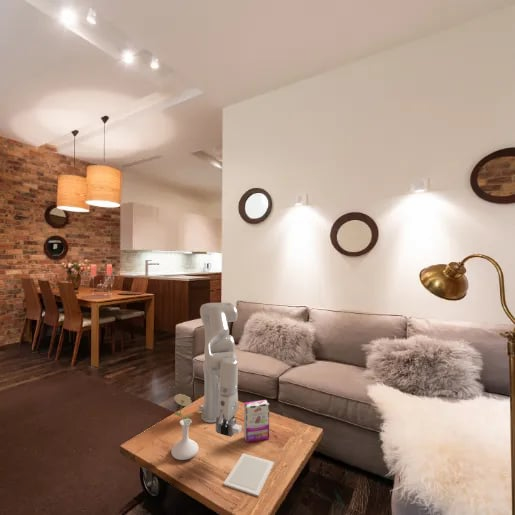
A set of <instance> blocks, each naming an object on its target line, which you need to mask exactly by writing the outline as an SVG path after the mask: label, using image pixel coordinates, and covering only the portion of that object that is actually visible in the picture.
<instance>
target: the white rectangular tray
mask: <svg viewBox="0 0 515 515" xmlns="http://www.w3.org/2000/svg"><path fill="white" fill-rule="evenodd" d="M274 465H275V461H271V460H269V459H265V458H261V457H258V456H255V455H251V454H247V453H242V454H241V456H240V457H239V458H238V460H237V462H236V464H235V465H234V467H232V469H231V471H230V472H229V474H228V475H227V477H225V480H224V481H223V483H222V484H223V486H226V487H228V488H232V489H234V490H238V491H240V492H243V493H245V494H249V495H252V496H255V497H259V496H260V494H261V492H262V491H263V488H264V485H265V483H266V482H267V479H268V477H269V475H270V473H271V471H272V469H273V467H274Z"/></svg>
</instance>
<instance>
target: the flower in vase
mask: <svg viewBox="0 0 515 515" xmlns="http://www.w3.org/2000/svg"><path fill="white" fill-rule="evenodd" d="M173 400H174V401H175V402H176V404H178V405H180V409H179V410H180V411H179V412H178V411H175V412H174V413H173V415H175V416H177V417H181V418H182V419H181V420H180V421H179V424H180V426H181V428H182V438H181V439H180V440H178V442H176V443H175V444H174V445H173V447H172V449H171V455H172V457H173V458H174V459H176V460H180V461H184V460H185V461H186V460H190V459H192V458H194V457H195V456H196V455H197V453H198V452H199V450H200V448H199V444H198V443H197V442H196V441H195V440H193V439H191V438H189V428H190V425H191V424H192V419H190V417H191V416H192V413H188V414H186V415H185V416H184V417H183V415H182V406H183V407H189V406H191V405H192V403H193V402H192V400H191V397H189V396H188V395H186V394H182V393H178V394H175V395H174V397H173Z"/></svg>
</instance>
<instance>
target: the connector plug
mask: <svg viewBox="0 0 515 515" xmlns="http://www.w3.org/2000/svg"><path fill="white" fill-rule="evenodd" d="M218 422H219V417H217V418H216V422H215V432H216V433H217V434H220V435H222V434H221V425H220V424H218ZM223 422H226V420H223ZM227 426H228V435H227V436H226V437H230V438H232V437H233V436H234V434H238V435H239V434H240V433H241V432H242V430H243V425H241V424H237V419H236V418H235V417H234V418H231V419H230V420H229V421H228V425H227Z"/></svg>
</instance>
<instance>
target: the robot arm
mask: <svg viewBox="0 0 515 515" xmlns="http://www.w3.org/2000/svg"><path fill="white" fill-rule="evenodd" d="M199 314H200V319H201V322H202V324H203V327H204V349H203V351H204V354H203V355H204V360H203V364H202V368H203V375H204V376H203V377H204V380H203V381H204V388H203V389H204V392H203V393H204V400H203V402H204V403H203V404H199V405H198V409H197V410H198V411H199V412H202V413H201V414H200V418H201V420H202V421H203V422H205V423H212V424H213V423H215V424H216V418H217V417H219V422H218V424H220V425H221V434H220V435H223V436H225V437H228V436H227V435H228V426H227V425H228V421H229V420H230V419H231V418H234V419H235V414H236V413H237V412H238V411H239V394H238V393H239V392H238V383H239V382H238V381H239V380H238V376H239V375H238V374H239V372H238V371H239V369H238V368H239V363H238V361H239V360H238V359H239V358H238V354H236V344H235V339H234V336H232V335H231V334H230V328H229V324H228V323H231V322H236V321H237V320H238V318H239V317H238V316H239V315H238V309H237V307H236V306H235V305H234V304H233V303H231V302H207V303H204V304H201V306H200V308H199ZM223 420H226V422H223Z"/></svg>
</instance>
